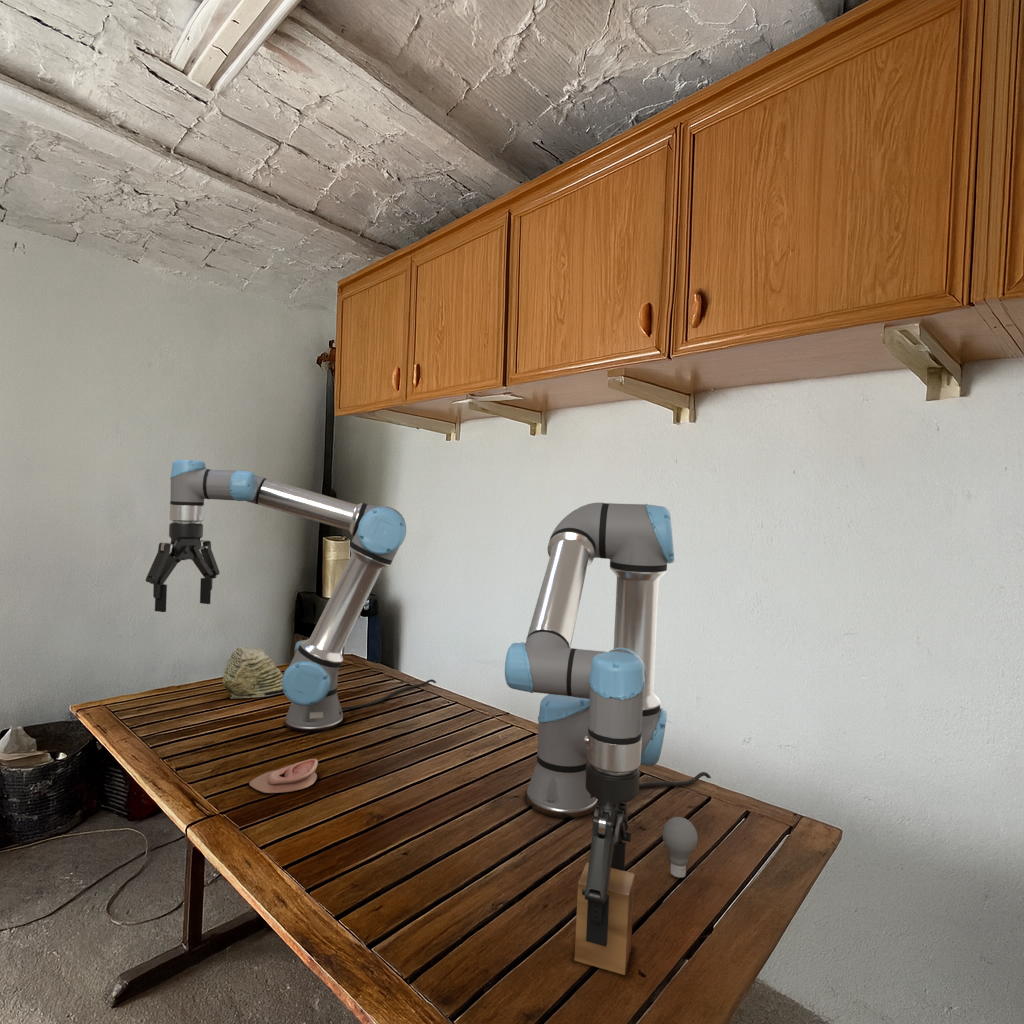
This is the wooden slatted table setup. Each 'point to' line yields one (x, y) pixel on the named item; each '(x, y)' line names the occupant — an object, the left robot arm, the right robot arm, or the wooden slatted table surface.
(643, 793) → the wooden slatted table surface
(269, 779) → the anatomical model
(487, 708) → the wooden slatted table surface
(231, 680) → the fossil
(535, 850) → the wooden slatted table surface
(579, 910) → the block
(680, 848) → the light bulb
